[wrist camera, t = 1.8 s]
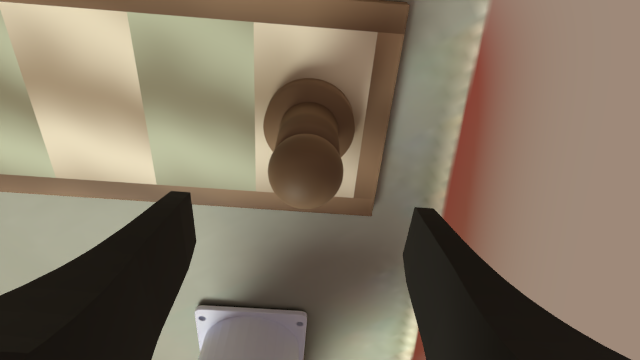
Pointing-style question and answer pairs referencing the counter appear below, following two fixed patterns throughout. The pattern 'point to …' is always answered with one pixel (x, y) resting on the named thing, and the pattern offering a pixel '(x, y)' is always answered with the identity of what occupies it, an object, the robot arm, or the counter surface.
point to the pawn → (307, 141)
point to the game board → (185, 94)
